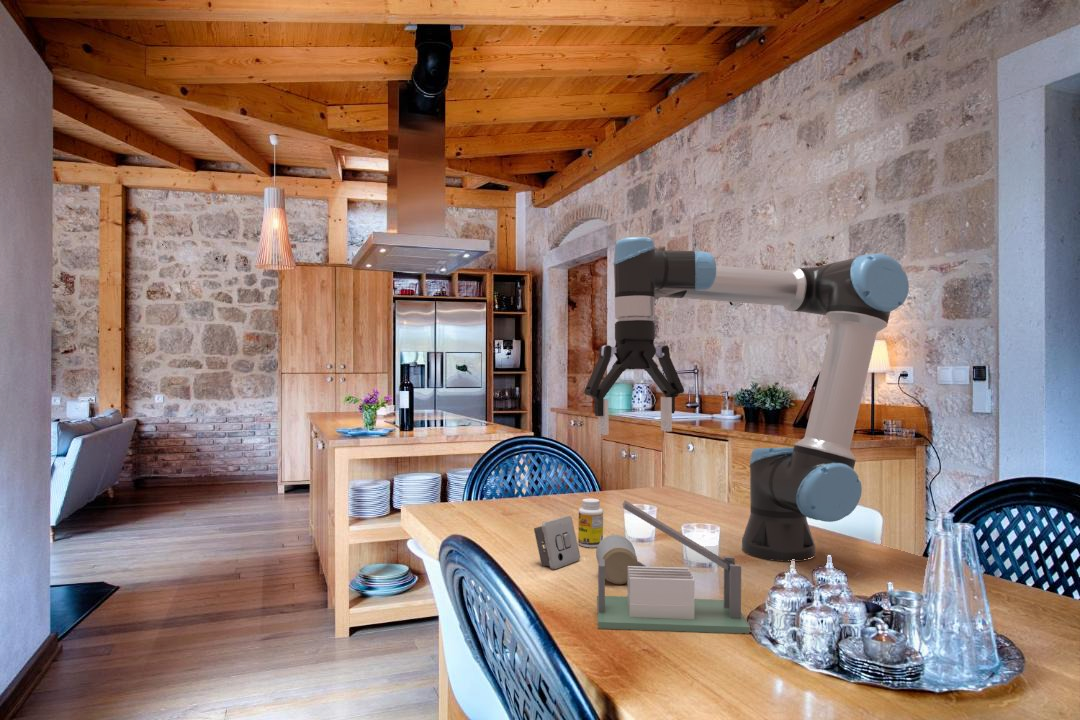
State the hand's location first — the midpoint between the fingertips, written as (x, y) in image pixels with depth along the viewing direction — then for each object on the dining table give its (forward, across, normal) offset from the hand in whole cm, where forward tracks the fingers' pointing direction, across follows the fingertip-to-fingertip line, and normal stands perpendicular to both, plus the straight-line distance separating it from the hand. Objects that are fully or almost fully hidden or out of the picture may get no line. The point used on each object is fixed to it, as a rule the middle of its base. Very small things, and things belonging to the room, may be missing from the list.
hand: (635, 432), depth 127 cm
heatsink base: (+28, +4, +18) cm, 33 cm away
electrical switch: (+28, +10, -16) cm, 34 cm away
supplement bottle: (+28, -3, -26) cm, 39 cm away
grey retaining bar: (+16, +3, +18) cm, 25 cm away
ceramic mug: (+28, +2, -2) cm, 28 cm away
